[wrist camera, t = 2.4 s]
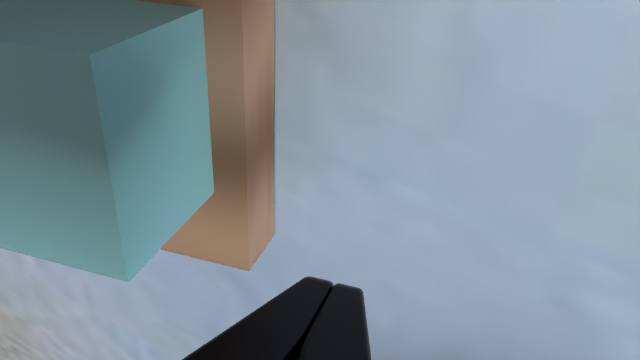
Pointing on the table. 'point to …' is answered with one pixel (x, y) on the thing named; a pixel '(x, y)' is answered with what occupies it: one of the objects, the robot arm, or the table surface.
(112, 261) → the block
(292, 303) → the robot arm
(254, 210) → the board
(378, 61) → the table surface
